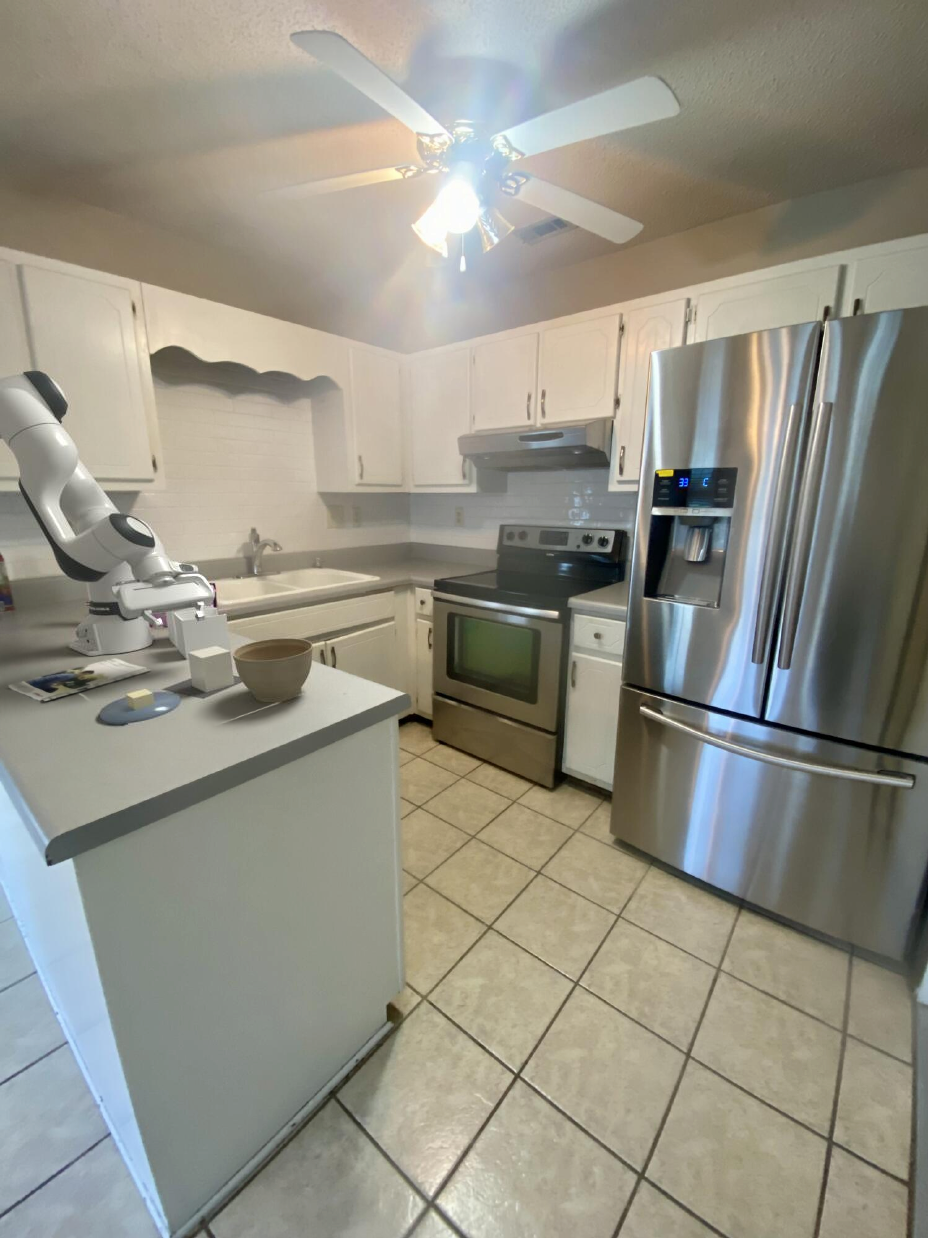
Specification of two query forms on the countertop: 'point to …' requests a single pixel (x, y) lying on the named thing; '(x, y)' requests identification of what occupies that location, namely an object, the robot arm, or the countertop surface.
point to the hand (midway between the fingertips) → (181, 623)
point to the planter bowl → (274, 667)
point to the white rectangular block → (211, 668)
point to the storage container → (197, 630)
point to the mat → (188, 689)
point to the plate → (124, 714)
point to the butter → (140, 699)
